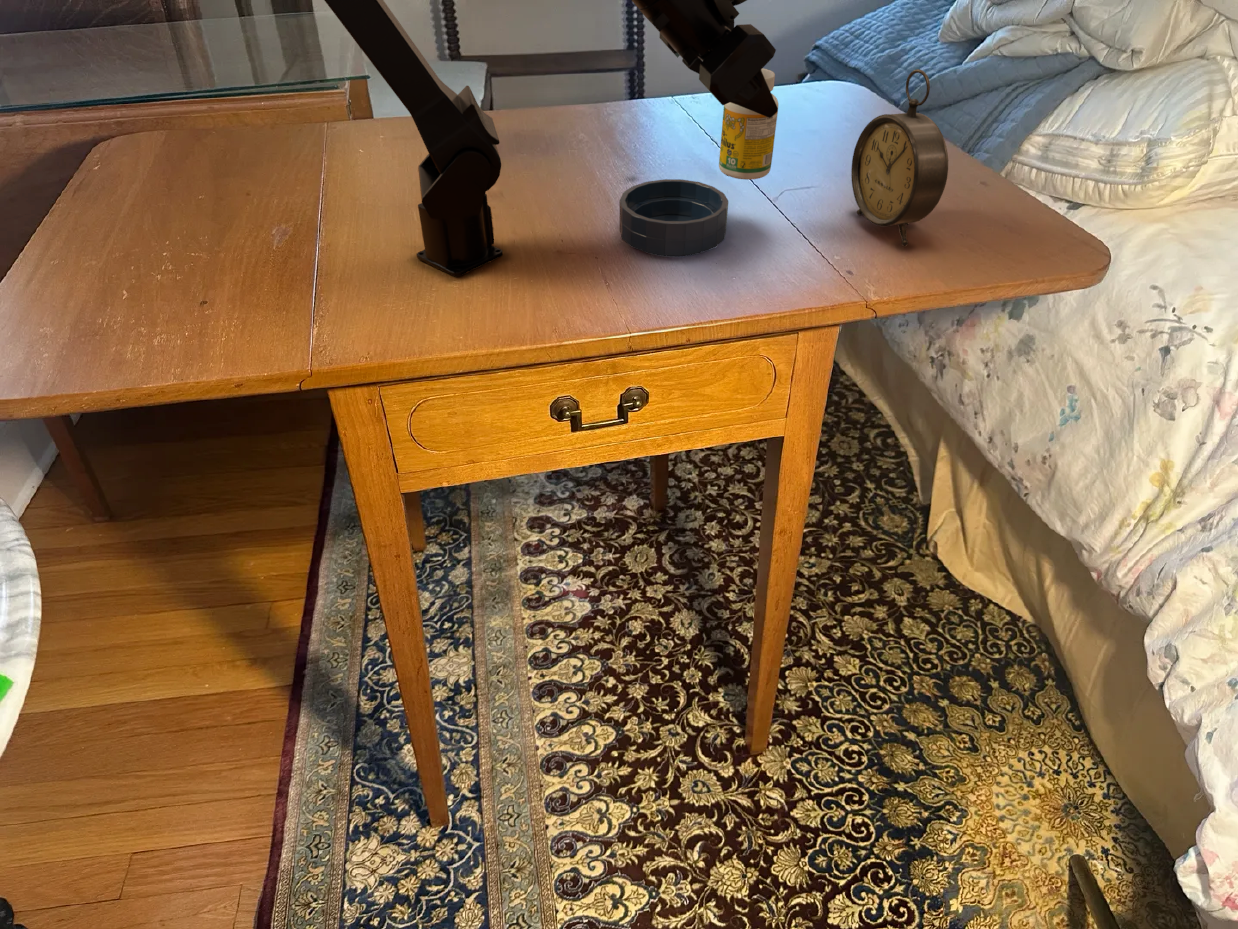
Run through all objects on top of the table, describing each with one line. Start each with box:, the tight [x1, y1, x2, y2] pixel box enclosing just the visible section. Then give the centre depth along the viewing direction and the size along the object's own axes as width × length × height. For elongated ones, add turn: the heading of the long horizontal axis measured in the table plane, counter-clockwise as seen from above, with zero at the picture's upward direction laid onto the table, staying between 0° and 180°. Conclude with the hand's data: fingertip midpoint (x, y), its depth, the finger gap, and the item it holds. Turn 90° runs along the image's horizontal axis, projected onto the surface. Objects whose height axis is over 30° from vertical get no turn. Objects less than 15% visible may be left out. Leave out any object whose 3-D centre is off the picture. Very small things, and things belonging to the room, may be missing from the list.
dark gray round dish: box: [618, 178, 729, 258], centre depth 91 cm, size 11×11×4 cm
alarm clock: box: [850, 68, 949, 247], centre depth 88 cm, size 11×5×16 cm, turn 21°
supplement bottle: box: [718, 67, 779, 180], centre depth 86 cm, size 5×5×10 cm
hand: (764, 104), depth 85 cm, fingers closed on supplement bottle, 5 cm apart
